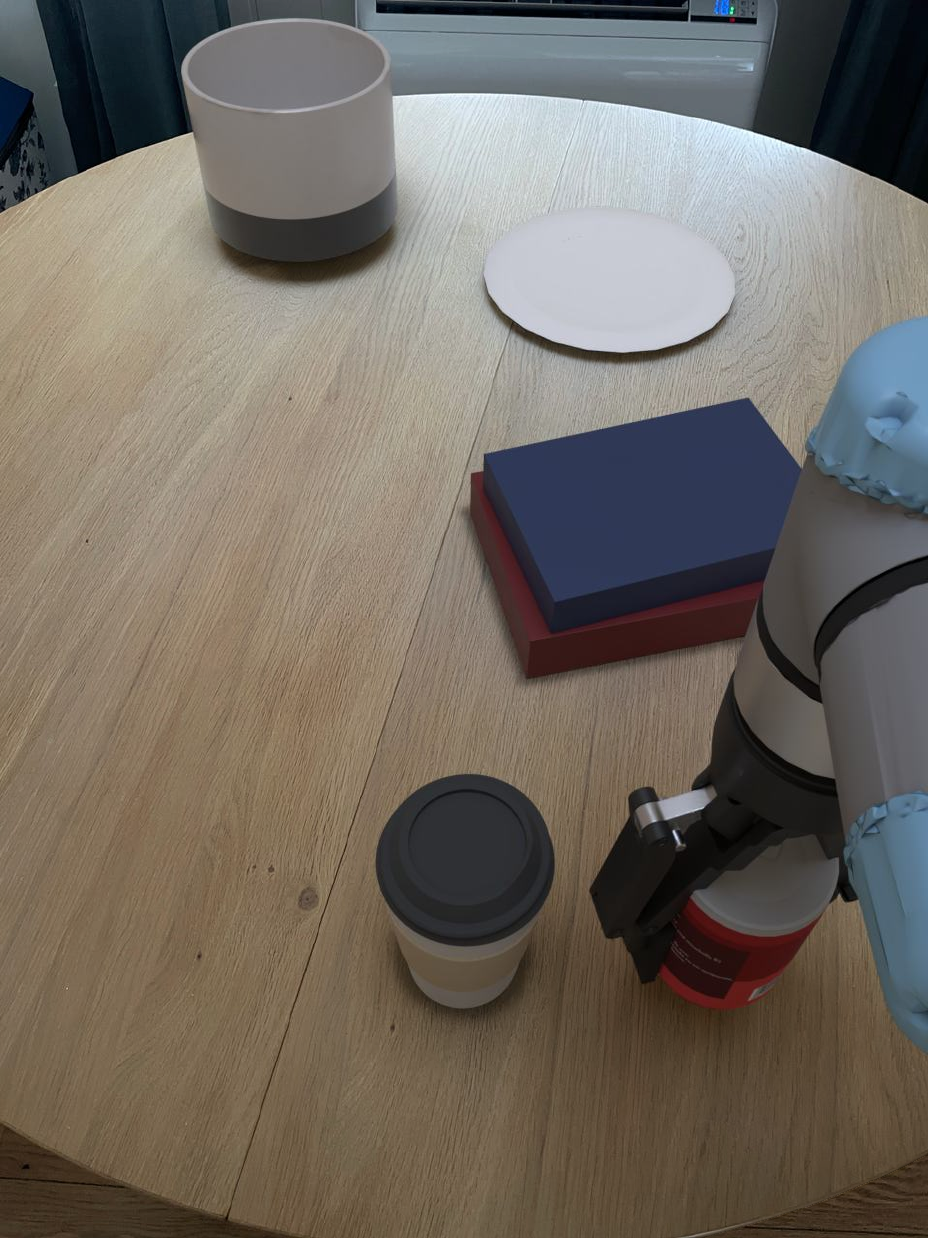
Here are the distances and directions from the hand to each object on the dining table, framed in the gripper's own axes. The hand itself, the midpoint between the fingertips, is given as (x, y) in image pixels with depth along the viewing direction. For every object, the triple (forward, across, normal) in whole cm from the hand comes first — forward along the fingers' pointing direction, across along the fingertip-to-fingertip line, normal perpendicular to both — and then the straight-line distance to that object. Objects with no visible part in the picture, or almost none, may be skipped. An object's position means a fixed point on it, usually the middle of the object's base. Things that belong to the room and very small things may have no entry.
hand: (713, 941), depth 57 cm
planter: (+4, +11, -84) cm, 84 cm away
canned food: (+1, 0, 0) cm, 1 cm away
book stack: (+5, -8, -32) cm, 33 cm away
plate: (+4, -17, -68) cm, 70 cm away
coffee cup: (+6, +13, -5) cm, 15 cm away
